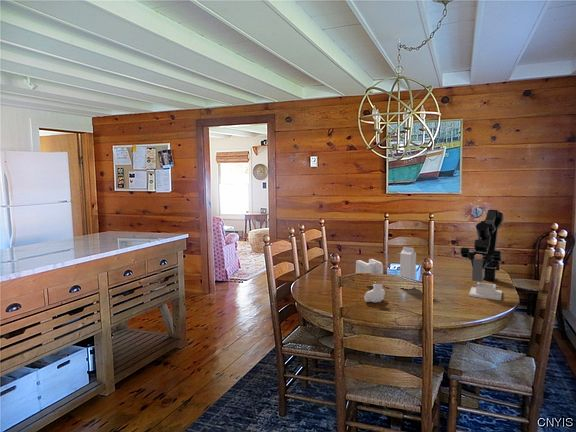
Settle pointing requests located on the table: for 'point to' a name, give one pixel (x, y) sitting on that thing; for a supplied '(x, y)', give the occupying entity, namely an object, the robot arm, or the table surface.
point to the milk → (408, 263)
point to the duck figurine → (375, 294)
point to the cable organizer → (369, 267)
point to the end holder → (485, 291)
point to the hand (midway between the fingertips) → (477, 267)
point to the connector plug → (478, 268)
